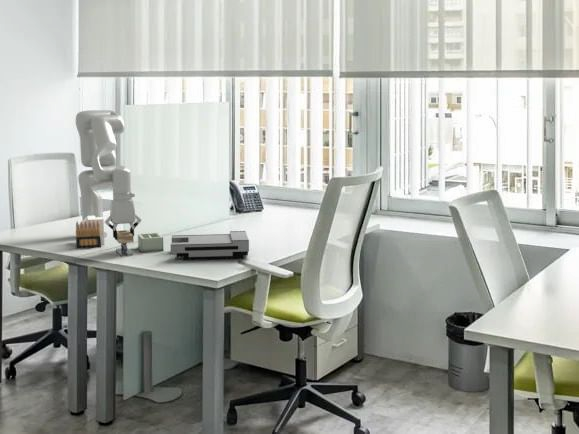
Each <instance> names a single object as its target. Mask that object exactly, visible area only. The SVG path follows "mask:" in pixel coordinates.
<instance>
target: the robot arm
mask: <svg viewBox="0 0 579 434" xmlns="http://www.w3.org/2000/svg"><path fill="white" fill-rule="evenodd" d="M75 125H76V130H77V132H78V135H79V136H78V137H79V144H80V145H79V147H80V162H81V165H82V167H85V168H91V169H89V170H88V169H87V170H84V171H82V172H80V173H79V174H78V177H77V179H78V185H79V190H80V197H81V198H80V199H81V201H80V202H81V218H82V219H81V221H83V220H84V219H85V218H86V217H87V216H95V217H103V218H104V212H103V206H104V205H103V198H102V196H101V195H100V194H99V192H97V191H100V190H102V191H103V190H111V189H112V199H111V201H110V212H109V213H110V215H109V216H108V217H107V218H106V220H104V224H105V225H107V226H108V227H109V228H110V229H111V230H112V238H114V239H115V240H116V241H117V231H118V230H117V226H118V225H123V224H125V225H126V224H129V227H130V228H129V231H130V233H131V234H132V235H133V237H135V229H136V227H137V226H138V225H140V223H141V222H142V219H141V217H139V216H138V215H137V214H136V210H135V204H134V200H133V198H135V197H136V196H135V193H132V187H131V185H132V183H131V182H132V181H131V180H132V179H131V170H130V168H128V167H126V166H124V165H117V156H116V152H115V150H116V149H117V145H118V144H117V140H116V137H115V135H120V134H122V133H124V131H125V128H124V126H125V121H124V119H123V117H122V116H121V115H120V114H119V113H117V112H115V111H114V110H109V109H107V110H106V109H103V110H82V111H79V112H77V114H76V116H75ZM110 222H111V223H112V224H113V225H112V224H111V223H110ZM107 236H108V233H107V232H105V231H104V238H106V237H107Z"/></svg>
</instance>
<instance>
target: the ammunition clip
mask: <svg viewBox="0 0 579 434" xmlns="http://www.w3.org/2000/svg"><path fill="white" fill-rule="evenodd" d="M79 224H80V231H79ZM96 234H97V236H96ZM92 239H93V244H92ZM96 239H97V241H96ZM88 243H89V244H88ZM75 245H76V246H75V249H77V248H78V249H93V248H94V247H98V248H102V246H101V237H100V227H99V221H97V230H96V228H95V222H94V221H93V227H92V229H91V223H90V221H89V224H88V230H87V223H86V221H85V223H84V230H83V224H82V220H81V221H80V222H79V221H76V224H75ZM94 249H95V248H94Z"/></svg>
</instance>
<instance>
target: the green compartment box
mask: <svg viewBox="0 0 579 434" xmlns="http://www.w3.org/2000/svg"><path fill="white" fill-rule="evenodd" d="M137 244H138V245H137V248H138V249H139V250H140V251H141V252H142V253H153V252H163V251H164V237H163V236H162V235H161V234H160V233H159V232H149V233H138V234H137Z"/></svg>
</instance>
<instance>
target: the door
mask: <svg viewBox="0 0 579 434" xmlns="http://www.w3.org/2000/svg"><path fill="white" fill-rule="evenodd" d="M116 242H117V243H118V244H121V243H127V244H130V243H133V244H134V236H133V235H132V234H131V233H130V229H128V230H127V229H123V230H117V240H116Z"/></svg>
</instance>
